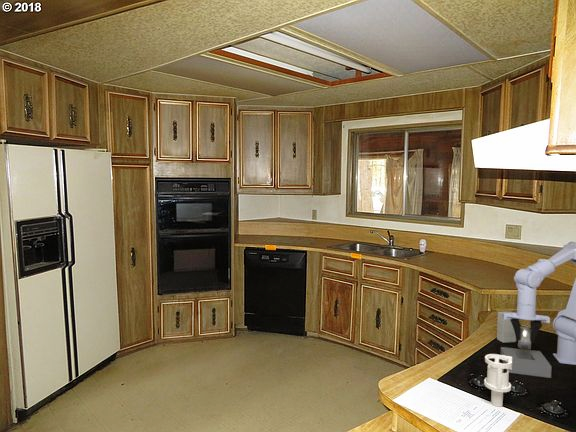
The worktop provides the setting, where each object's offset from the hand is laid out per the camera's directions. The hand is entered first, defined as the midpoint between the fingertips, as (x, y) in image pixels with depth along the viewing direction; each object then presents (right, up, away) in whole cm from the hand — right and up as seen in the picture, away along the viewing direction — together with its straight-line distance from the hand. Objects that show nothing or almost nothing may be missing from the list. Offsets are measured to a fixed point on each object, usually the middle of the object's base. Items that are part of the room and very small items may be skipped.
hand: (524, 340), depth 142 cm
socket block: (0, -10, 0) cm, 10 cm away
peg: (0, -3, 0) cm, 3 cm away
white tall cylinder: (-23, -12, -24) cm, 35 cm away
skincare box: (+7, -8, +24) cm, 26 cm away
